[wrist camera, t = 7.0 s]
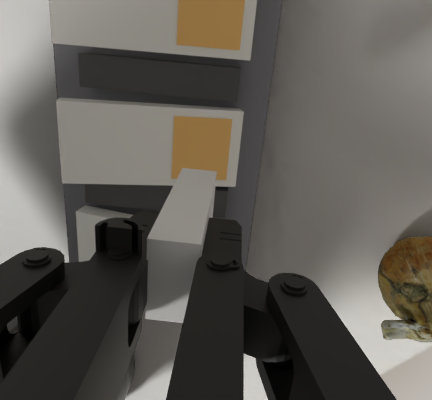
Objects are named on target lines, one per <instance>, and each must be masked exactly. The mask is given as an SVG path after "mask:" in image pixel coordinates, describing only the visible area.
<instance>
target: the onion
mask: <svg viewBox="0 0 432 400" xmlns="http://www.w3.org/2000/svg"><path fill="white" fill-rule="evenodd" d="M378 283H379V288H380V291H381V293H382V296H383V299H384V301H385V303H386V304H387V306H388V307H389V308H390V309H391V311H392V312H393V313H394V314H395V316H397V317H399V318H400V319H402V320H384V321H383V322H382V324H381V327H382V333H383V338H384V339H386V340H392V339H405V338H406V339H407V338H409V339H413V340H416V341H419V342H432V237H430V236H422V237H417V236H416V237H408V238H405V239H402V240H400V241H398V242H397V243H396V244H395V245H394V246H393V247H391V248H390V249H389V250H388V251H387V252H386V253H385V255H384V256H383V258H382V260H381V262H380V265H379V270H378Z"/></svg>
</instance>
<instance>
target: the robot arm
mask: <svg viewBox="0 0 432 400" xmlns="http://www.w3.org/2000/svg"><path fill="white" fill-rule="evenodd" d="M216 174H217V171H208V170H198V169H189V168H182V170H181V172H180V174H179V176H178V178H177V180H176V182H175V184H174V186H173V188H172V190H171V192H170V194H169V196H168V198H167V200H166V201H165V203H164V205H163V207H162V209H161V211H160V213H153V212H144V211H140V212H138V213H136V214H135V215H133V216H131V217H130V218H119V217H116V218H109V219H105V220H102V221H100V222H98V223H97V224H96V225H95V244H96V252H95V253H94V255H93V256H92V257H91V259H90V260H89V261H82V262H71V263H65V262H64V255H63V254H62V253H61V251H58V250H56V249H52V248H46V247H41V248H34V249H30V250H26V251H24V252H21V253H19V254H17V255H15V256H14V257H12V258H10V259H9V260H7V261H6V262H4V263H2V264H1V265H0V400H125V398H126V396H127V393H128V390H129V387H130V384H131V382H132V379H133V375H134V368H135V363H134V356H133V352H134V350H135V347H136V344H137V341H138V338H139V336H140V333H141V326H142V314H143V311H144V309H145V319H150V320H159V321H168V322H177V323H183V325H182V330H181V334H180V339H179V343H178V348H177V352H176V357H175V361H174V366H173V370H172V375H171V380H170V384H169V389H168V393H167V398H166V400H243V353H244V354H247V355H249V356H252V357H255V358H256V364H257V368H258V371H259V374H260V377H261V380H262V383H263V386H264V389H265V392H266V395H267V398H268V400H396V398H395V397H394V395H393V394H392V393H391V391H390V390H389V388H388V387H387V385H386V384H385V383H384V381H383V380H382V378H381V377H380V375H379V374H378V372H377V371H376V370H375V368H374V367H373V365H372V364H371V362H370V361H369V359H368V358H367V357H366V355H365V354H364V352H363V351H362V349H361V348H360V347H359V345H358V344H357V342H356V341H355V339H354V338H353V336H352V335H351V334H350V332H349V331H348V329H347V328H346V326H345V325H344V324H343V322H342V321H341V319H340V318H339V316H338V315H337V313H336V312H335V311H334V309H333V308H332V306H331V305H330V303H329V302H328V301H327V299H326V298H325V296H324V295H323V293H322V292H321V290H320V289H319V288H318V286H317V285H316V284H315V283H314V282H313V281H311V280H310V279H308V278H306V277H304V276H302V275H298V274H294V273H281V274H277V275H275V276H273V277H271V279H270V281H269V283H268V282H264V281H261V280H259V279H256V278H254V277H252V276H251V275H249V274H248V273H247V272H246V271H245V270H244V267H243V264H242V227H241V226H240V224H239V223H238V222H237V221H236V220H229V219H219V218H213V207H214V196H215V185H216ZM145 306H146V308H145Z"/></svg>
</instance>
